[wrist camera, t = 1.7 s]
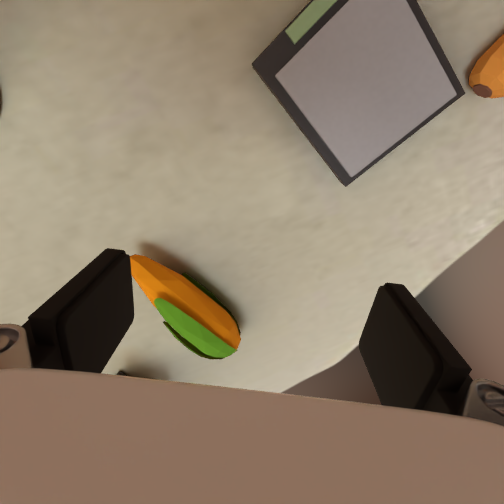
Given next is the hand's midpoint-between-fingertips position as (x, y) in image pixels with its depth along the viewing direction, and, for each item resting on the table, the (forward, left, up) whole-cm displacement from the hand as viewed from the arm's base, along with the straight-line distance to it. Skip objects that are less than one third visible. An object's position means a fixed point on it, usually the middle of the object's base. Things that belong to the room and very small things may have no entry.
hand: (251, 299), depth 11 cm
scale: (0, +13, -27) cm, 30 cm away
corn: (+7, -20, -27) cm, 34 cm away
